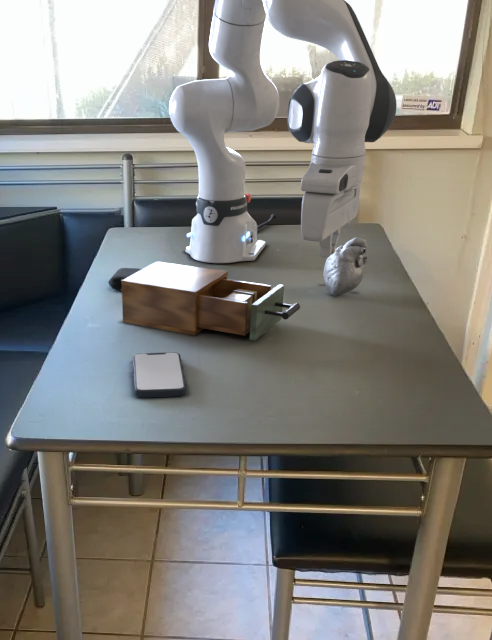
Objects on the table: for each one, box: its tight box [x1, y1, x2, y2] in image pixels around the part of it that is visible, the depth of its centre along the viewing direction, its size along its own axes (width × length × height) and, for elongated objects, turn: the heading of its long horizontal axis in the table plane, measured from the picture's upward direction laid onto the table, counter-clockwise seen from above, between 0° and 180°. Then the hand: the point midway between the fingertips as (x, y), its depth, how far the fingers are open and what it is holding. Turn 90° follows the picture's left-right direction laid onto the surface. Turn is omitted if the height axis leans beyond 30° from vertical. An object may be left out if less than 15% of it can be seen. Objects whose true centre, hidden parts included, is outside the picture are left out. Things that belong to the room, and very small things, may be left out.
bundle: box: [223, 289, 257, 320], centre depth 160 cm, size 9×4×5 cm, turn 149°
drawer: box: [197, 278, 301, 341], centre depth 160 cm, size 20×13×7 cm, turn 59°
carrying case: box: [108, 267, 143, 291], centre depth 185 cm, size 11×3×15 cm
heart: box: [323, 237, 368, 297], centre depth 176 cm, size 10×10×12 cm
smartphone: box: [132, 351, 187, 399], centre depth 143 cm, size 9×2×16 cm
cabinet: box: [121, 260, 229, 336], centre depth 167 cm, size 17×15×9 cm
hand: (327, 255), depth 146 cm, fingers closed
